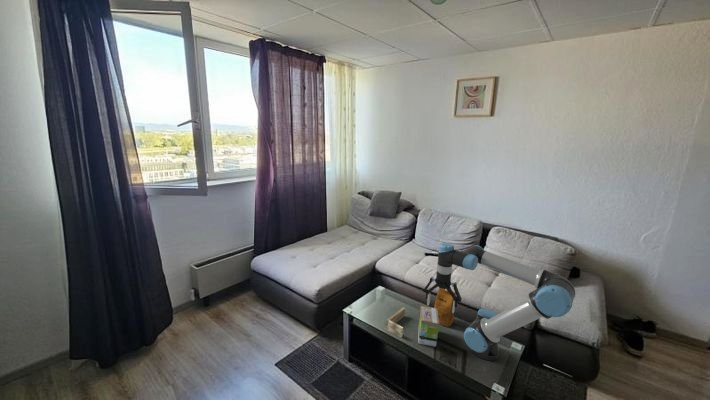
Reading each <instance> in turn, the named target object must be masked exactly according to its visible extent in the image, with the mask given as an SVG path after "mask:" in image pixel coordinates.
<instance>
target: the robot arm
mask: <svg viewBox="0 0 710 400" xmlns="http://www.w3.org/2000/svg"><path fill="white" fill-rule="evenodd" d="M478 264H480V265H483V266H485V267H488V268H490V269H493V270H494V271H497V272H500V273H502V274H505V275H507V276H510V277H512V278H515V279H517V280H519V281H523V282H524V283H528V284H530V285H532V286H534V287H535V289H534V290H533V291H531V292H529V293H528V295H527V298H526V299H524V300H522V301H520V302H519V303H517V304H516V303H515V305H513V306H511V307H509V308H507V309H505V310H503V311H502V312H499V313H497V312H496V311H495V310H492V309H488V308H479V310H478V311H477V315H476V318H475V319H474V321H473V322H471V323H470V325H469V326H467V327H466V328H465V331H464V333H463V339H464V342H465V343H466V345H467V346H468V349H469V350H470V352H471V353H472V354H473V355H475V356H476V357H477V358H480V359H482V360H485V361H496V360H498V358H499V357H500V348H499V342H500V340H501V337H503V336H505V335H507V334H509V333H511V332H514V331H515V330H517V329H520V328H522V327H525V326H526V325H529V324H530V323H533V322H535V321H537V320H539V319H541V318H544V319H546V320H549V319H551V318H561V317H564V316H565V315H567V314H568V313H569V312H570V310H571V309H572V307H573V302H574V300H575V297H576V288H575V287H574V285H573V284H572V283H571V281H570V280H568V279H567V278H566V277H564V276H562V275H559V274H558V273H554V272H551V271H548V270H546V269H537V268H534V267H532V266H529V265H526V264H523V263H521V262H517V261H514V260H511V259H509V258H507V257H503V256H501V255H498V254H496V253H492V252H489V251H487V250H484V248H483V247H482V246H480V245H479V244H478V245H477V244H476V245H471V246H470V247H468V248H467V249H465V250H464V251H459V250H456V249H455V246H454V245H453V244H452V243H449V242H442V243H440V244H439V246H438V254H437V264H436V276H435V278H434V276H430V278H429V281H428V283H427V284H426V286H425V287H424V288H423V289H422V292H423V293H425V299H427V300H426V302H427V303H426V306H430V303H431V295H432V294H431V292H432V291H434V290H435V289H437V288H438V289H439V288H442V289H445V290H446V291H448V292H449V293H450V295H451V296H452V298H453V299H454V301H453V309H452V313H454V314H455V312H454V311H456V310H455V309H456V308H457V307H458V303H461V302H462V300H463V299H462V296H461V294H460V291H459V288H458V283H457V282H451V281H452V272H453V265H454V266H458V267H460V268H463V269H465V270H469V271H474V270H476V268H477V267H478ZM433 282H435V284H434V285H433V286H431V287H430V285H431V284H432V283H433ZM451 286H452V287H451ZM428 288H429V289H428ZM452 288H453V290H452ZM454 292H455V293H456V295H455V294H454Z"/></svg>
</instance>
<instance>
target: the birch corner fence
mask: <svg viewBox="0 0 710 400" xmlns="http://www.w3.org/2000/svg"><path fill="white" fill-rule="evenodd" d="M405 310H406V308H405V307H403V306H402V307H401V308H400V309H398V310H397V311H396V312H395V313H394V314H392V315H391V316H389V318H387V319H386V320H385V328H384V329H385V330H387V331H388V332H390V333H391V334H394V335H395V336H397V337H399V338H403V335H404V327H403V326H401V325H400V324H398V322H399V321H401V320H402V319H403V318H404V317H405Z"/></svg>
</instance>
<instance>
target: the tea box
mask: <svg viewBox="0 0 710 400" xmlns="http://www.w3.org/2000/svg"><path fill="white" fill-rule="evenodd" d="M417 324H418V325H417V331H418V332H417V335H418V337H417V340H418V344H419V345H423V346H424V345H425V346H430V347H435V348H436V347H437V342H438V337H439V336H438V335H439V330H440V324H439V317H438V310H437V309H435V308H434V307H429V306H423V305H421V306H420V310H419V318H418V323H417Z"/></svg>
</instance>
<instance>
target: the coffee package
mask: <svg viewBox="0 0 710 400" xmlns="http://www.w3.org/2000/svg"><path fill="white" fill-rule="evenodd" d="M453 292H454V294H455V295H456V293H455V291H453ZM453 301H454V299H453V298H452V296H451V295H450V293H449V292H448V291H447V290H446V289H442V288H439V287H438V291H437V294H436V298H435V301H434V307H433V308H435V309H437V310H438V317H439V325H441V326H443V327H444V326H445V327H447V328H449V327H450V326H451V325H452V324H453V323H454V317H455V311H456V310H455V311H454V313H452V309H453Z"/></svg>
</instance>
